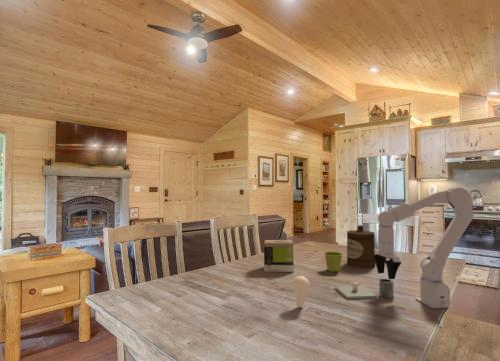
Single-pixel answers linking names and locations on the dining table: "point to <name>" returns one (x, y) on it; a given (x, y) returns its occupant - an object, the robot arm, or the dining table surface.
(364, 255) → the wooden container
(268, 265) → the tea box
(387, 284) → the tube
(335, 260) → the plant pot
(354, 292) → the shaft plate
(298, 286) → the lightbulb
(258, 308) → the dining table surface
